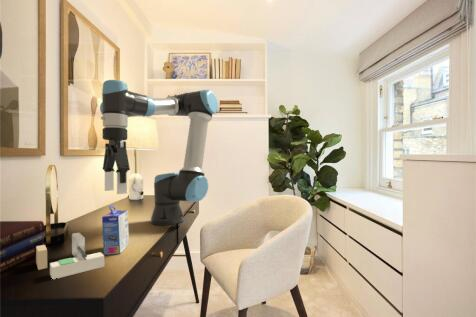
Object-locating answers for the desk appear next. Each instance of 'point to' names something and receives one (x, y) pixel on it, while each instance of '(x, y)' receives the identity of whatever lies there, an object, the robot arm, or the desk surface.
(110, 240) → the ink cartridge box
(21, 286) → the desk surface
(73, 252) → the block
